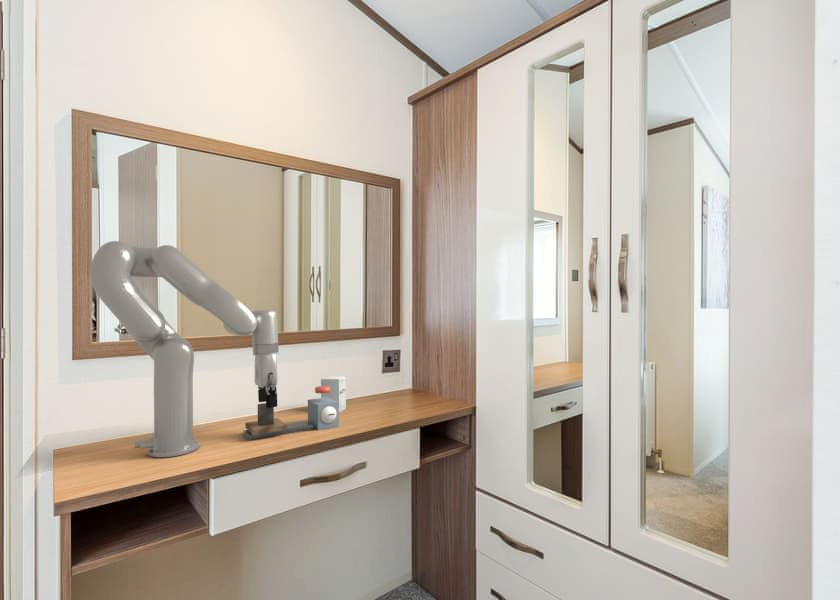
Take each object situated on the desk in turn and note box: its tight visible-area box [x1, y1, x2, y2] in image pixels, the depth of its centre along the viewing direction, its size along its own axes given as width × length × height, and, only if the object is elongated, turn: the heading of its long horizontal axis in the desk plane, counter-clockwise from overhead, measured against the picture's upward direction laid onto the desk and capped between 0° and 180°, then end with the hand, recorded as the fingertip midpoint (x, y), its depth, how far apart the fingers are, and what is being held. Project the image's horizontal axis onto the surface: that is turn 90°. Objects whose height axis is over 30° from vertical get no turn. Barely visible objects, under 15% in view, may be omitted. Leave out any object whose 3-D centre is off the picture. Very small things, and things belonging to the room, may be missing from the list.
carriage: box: [244, 402, 287, 435], centre depth 138 cm, size 10×10×8 cm
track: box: [242, 420, 314, 441], centre depth 140 cm, size 20×6×2 cm, turn 123°
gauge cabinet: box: [307, 397, 340, 431], centre depth 148 cm, size 7×10×8 cm
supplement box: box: [320, 375, 347, 414], centre depth 168 cm, size 7×7×13 cm
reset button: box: [314, 385, 330, 394], centre depth 148 cm, size 5×5×2 cm
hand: (267, 404), depth 139 cm, fingers open, 9 cm apart
